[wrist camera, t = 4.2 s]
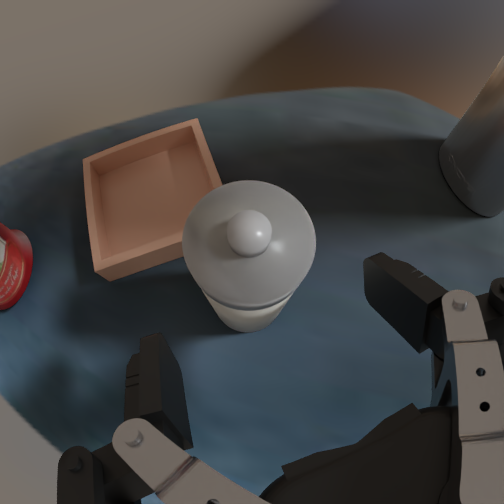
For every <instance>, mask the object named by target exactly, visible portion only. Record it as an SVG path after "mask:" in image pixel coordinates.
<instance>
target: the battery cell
mask: <svg viewBox="0 0 504 504" xmlns="http://www.w3.org/2000/svg"><path fill="white" fill-rule="evenodd" d="M182 250H183V255H184V259H185V262H186V265H187V267H188V269H189V271H190V273H191V274H192V276H193V278H194V279H195V281H196V282H197V284H198V285H199V287H200V288H201V289H202V291H203V293H204V294H205V296H206V297H207V299H208V301H209V302H210V304H211V305H212V307H213V309H214V310H215V312H216V313H217V315H218V316H219V318H220V319H221V320H222V322H223V323H224V324H226V325H227V326H228V327H230V328H232V329H234V330H236V331H239V332H246V333H248V332H256V331H260V330H262V329H264V328H266V327H267V326H269V325H270V324H271V323H272V322H273V321H274V320H275V318H276V317H277V315H278V314H279V313H280V311H281V310H282V308H283V307H284V305H285V304H286V303H287V301H288V300H289V298H290V297H291V295H292V294H293V292H294V291H295V290H296V289H297V287H298V286H299V285H300V283H301V282H302V280H303V279H304V277H305V276H306V274H307V273H308V271H309V269H310V267H311V265H312V262H313V259H314V255H315V250H316V237H315V230H314V226H313V223H312V221H311V218H310V216H309V215H308V213H307V211H306V209H305V208H304V207H303V205H302V204H301V203H300V202H299V201H298V200H297V199H296V198H295V197H294V196H292V195H291V194H290V193H288V192H287V191H285V190H284V189H282V188H280V187H278V186H276V185H273V184H270V183H266V182H262V181H253V180H243V181H236V182H231V183H228V184H225V185H222V186H220V187H218V188H216V189H214V190H212V191H211V192H209V193H208V194H206V195H205V196H204V197H203V198H202V199H200V200H199V202H198V203H197V204H196V205H195V206H194V208H193V209H192V211H191V212H190V214H189V216H188V218H187V220H186V223H185V226H184V230H183V235H182Z"/></svg>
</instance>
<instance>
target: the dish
mask: <svg viewBox="0 0 504 504" xmlns="http://www.w3.org/2000/svg"><path fill="white" fill-rule="evenodd" d="M83 172H84V188H85V201H86V211H87V221H88V229H89V237H90V244H91V251H92V258H93V264H94V270H95V272H96V273H97V274H99V275H100V276H102V277H104V278H105V279H107V280H108V281H110V282H111V281H114V280H116V279H119V278H122V277H125V276H128V275H131V274H134V273H136V272H139V271H142V270H145V269H148V268H151V267H154V266H157V265H160V264H163V263H165V262H168V261H171V260H174V259H177V258H180V257H183V256H184V255H183V250H182V235H183V230H184V226H185V223H186V220H187V218H188V216H189V214H190V212H191V211H192V209H193V208H194V206H195V205H196V204H197V203H198V202H199V200H200V199H202V198H203V197H204V196H205V195H206V194H208V193H209V192H211V191H212V190H214V189H216V188H218V187H220V186H222V182H221V180H220V177H219V174H218V172H217V169H216V166H215V164H214V161H213V159H212V156H211V153H210V151H209V148H208V145H207V143H206V140H205V137H204V135H203V132H202V130H201V127H200V124H199V122H198V119H197V118H196V119H192V120H189V121H186V122H182V123H179V124H176V125H173V126H169V127H166V128H163V129H160V130H157V131H154V132H151V133H149V134H146V135H143V136H140V137H137V138H135V139H132V140H129V141H126V142H124V143H121V144H119V145H116V146H114V147H111V148H108V149H106V150H104V151H101V152H99V153H96V154H94V155H92V156H89V157H87V158H85V159H83Z"/></svg>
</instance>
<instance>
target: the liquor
mask: <svg viewBox="0 0 504 504" xmlns="http://www.w3.org/2000/svg"><path fill="white" fill-rule="evenodd" d="M32 265H33V253H32V247H31V243H30V241H29V239H28V237H27V236H26V235H25V234H24V233H23V232H22V231H20V230H16V229H12V230H10V229H9V228H7V227H6V226H5V225H3V224H2V223H1V222H0V310H4V309H7V308H9V307H11V306H13V305H14V304H15V303H16V302H17V301H18V300H19V299H20V297H21V296H22V294H23V293H24V291H25V289H26V287H27V285H28V282H29V279H30V276H31V272H32Z"/></svg>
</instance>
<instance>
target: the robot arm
mask: <svg viewBox="0 0 504 504" xmlns="http://www.w3.org/2000/svg"><path fill="white" fill-rule="evenodd" d="M439 161H440V166H441V169H442V172H443V175H444V177H445V179H446V181H447V182H448V184H449V186H450V187H451V189H452V190H453V192H454V193H455V194H456V195H457V197H458V198H459V199H460V200H461V201H462V202H463V203H464V204H465V205H466V206H467V207H468V208H470V209H471V210H473V211H474V212H476V213H478V214H480V215H482V216H487V217H492V216H496V215H498V214H499V213H501V212H502V211H503V210H504V55H503V57H502V59H501V60H500V62H499V63H498V65H497V67H496V68H495V70H494V71H493V73H492V74H491V76H490V78H489V79H488V80H487V82H486V83H485V85H484V87H483V88H482V89H481V91H480V92H479V94H478V95H477V97H476V98H475V100H474V101H473V103H472V104H471V105H470V107H469V108H468V110H467V111H466V112H465V114H464V115H463V117H462V118H461V119H460V121H459V122H458V123H457V125H456V126H455V128H454V129H453V130H452V132H451V133H450V134H449V136H448V137H447V139H446V140H445V141H444V143H443V144H442V145H441V147H440V150H439ZM363 268H364V290H365V296H366V299H367V301H368V303H369V304H370V305H371V306H372V307H373V308H374V309H375V310H376V311H377V312H378V313H379V314H380V315H381V316H382V317H383V318H384V319H385V320H386V321H387V322H388V323H389V324H390V325H391V326H392V327H393V328H394V329H395V330H396V331H397V332H398V333H399V334H400V335H401V336H402V337H403V338H404V339H405V340H406V341H407V342H408V343H409V344H410V345H411V346H412V347H413V348H414V349H415V350H416V351H417V352H418V353H419V354H420V353H422V352H423V351H425V350H426V349H428V348H430V349H431V350H432V354H431V367H432V398H431V404H430V407H427V408H422V409H417V408H416V407H415V405H414V404H413V403H411V404H409V405H408V406H406V407H405V408H403V409H401V410H400V411H398V412H396V413H395V414H393V415H391V416H389V417H388V418H386V419H384V420H383V421H382V422H381V423H380V424H379V425H377V426H376V427H375V428H374V429H373V430H372V431H371V432H369V433H368V434H367V435H366V436H365V437H364V438H362V439H361V440H360V441H359V442H357V443H356V444H353V445H349V446H345V447H341V448H336V449H332V450H327V451H322V452H317V453H314V454H312V455H309V456H307V457H304V458H302V459H299V460H297V461H294V462H291V463H289V464H286V465H283V466H281V467H282V469H283V472H284V475H282V476H280V477H279V478H277V479H276V480H275V481H274V482H272V483H271V484H270V485H269V486H268V487H267V488H266V489H265V490H264V491H263V492H262V494H261V495H260V496H259V497H258V496H256V495H254V494H252V493H251V492H249V491H247V490H246V489H244V488H242V487H241V486H239V485H237V484H236V483H234V482H232V481H231V480H229V479H228V478H226V477H225V476H223V475H222V474H220V473H218V472H217V471H215V470H214V469H213V468H211V467H210V466H208V465H207V464H205V463H204V462H202V461H201V460H199V459H198V458H196V457H194V456H193V457H192V456H190V455H189V454H187V453H186V452H185V451H184V450H186V449H191V448H193V442H192V437H191V431H190V425H189V419H188V413H187V406H186V400H185V393H184V386H183V378H182V373H181V370H180V367H179V364H178V362H177V360H176V359H175V357H174V355H173V353H172V351H171V350H170V348H169V346H168V344H167V342H166V340H165V339H164V337H163V335H162V334H161V333H160V332H159V333H156V334H153V335H149V336H146V337H143V338H141V339H140V353H138V354H134V355H132V357H131V359H130V361H129V363H128V365H127V369H126V385H125V386H126V389H125V407H124V422H123V423H122V424H121V425H120V426H119V427H118V428H117V429H116V431H115V432H114V435H113V439H112V442H111V443H109V444H108V445H106V446H104V447H102V448H100V449H98V450H95V451H93V452H90V451H89V450H87V449H86V448H84V447H82V446H75V447H72V448H69V449H68V450H66V451H65V452H64V453H63V454H62V456H61V458H60V460H59V463H58V480H57V504H141V498H143V497H145V496H148V495H150V494H152V493H154V492H156V493H155V494H156V495H157V497H158V498H159V499H160V500H162V501H163V502H164V503H165V504H504V278H497V279H495V280H493V281H492V283H491V286H490V290H489V293H485V294H482V295H479V296H474V295H473V294H471V293H469V292H467V291H464V290H453V291H447V290H446V289H444V288H443V287H442V286H440V285H439V284H437V283H436V282H435V281H433V280H432V279H430V278H429V277H427V276H426V275H425V276H424V274H423V273H422V272H420V271H419V270H418V271H417V269H416V268H414V267H413V266H411V265H410V264H409V263H406V262H403V261H400V260H393V259H392V258H390V257H389V256H387V255H386V254H384V253H382V252H381V253H378V254H376V255H373V256H371V257H368V258H366V259H365V260H364V262H363Z"/></svg>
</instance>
